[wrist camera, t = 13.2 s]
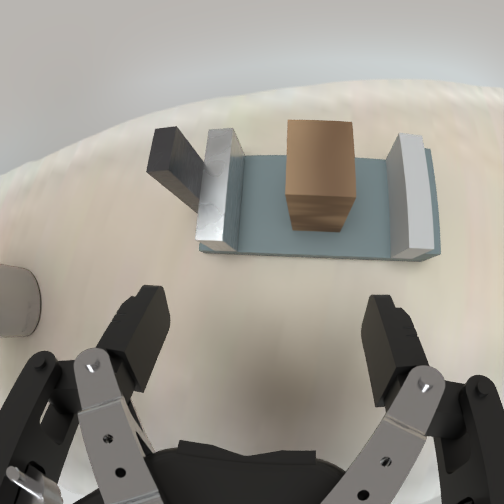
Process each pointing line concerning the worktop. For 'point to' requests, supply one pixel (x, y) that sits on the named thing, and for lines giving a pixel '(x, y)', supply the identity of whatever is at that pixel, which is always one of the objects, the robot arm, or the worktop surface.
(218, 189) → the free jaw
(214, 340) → the worktop surface
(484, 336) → the worktop surface
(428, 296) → the worktop surface
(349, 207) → the block
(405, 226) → the vise
